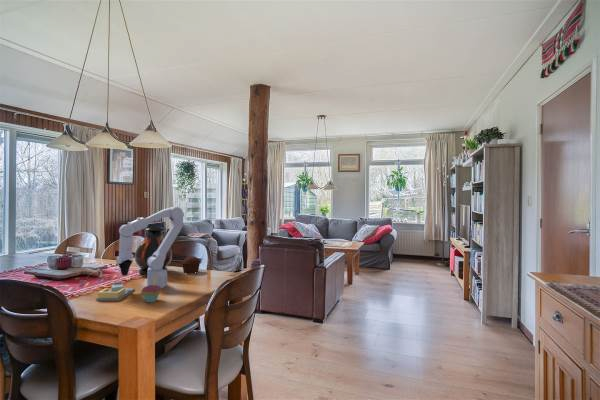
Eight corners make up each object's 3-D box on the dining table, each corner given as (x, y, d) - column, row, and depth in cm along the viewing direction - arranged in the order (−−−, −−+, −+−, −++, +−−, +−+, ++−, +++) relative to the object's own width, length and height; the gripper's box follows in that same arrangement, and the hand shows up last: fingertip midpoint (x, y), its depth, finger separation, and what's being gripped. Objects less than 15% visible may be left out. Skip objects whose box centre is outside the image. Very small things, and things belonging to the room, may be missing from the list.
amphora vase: (137, 269, 207) (139, 226, 207) (173, 268, 213) (174, 226, 213) (130, 277, 186) (132, 229, 186) (170, 275, 192) (171, 229, 192)
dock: (134, 290, 160) (134, 283, 160) (119, 300, 144) (119, 292, 144) (113, 290, 159) (114, 283, 159) (96, 300, 143) (96, 292, 143)
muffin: (180, 271, 205) (181, 255, 205) (198, 269, 211) (198, 254, 211) (183, 275, 195) (183, 259, 195) (201, 273, 200) (202, 257, 200)
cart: (112, 291, 154) (112, 282, 154) (122, 290, 156) (122, 281, 156) (111, 294, 149) (111, 285, 149) (122, 293, 151) (122, 284, 151)
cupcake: (155, 296, 152) (156, 271, 152) (164, 300, 146) (165, 274, 146) (137, 300, 145) (138, 274, 145) (146, 305, 140) (146, 277, 140)
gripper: (124, 246, 167) (123, 271, 167) (110, 250, 152) (109, 278, 152) (137, 246, 167) (136, 272, 167) (125, 250, 153) (124, 278, 153)
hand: (124, 275), depth 160 cm, fingers closed
